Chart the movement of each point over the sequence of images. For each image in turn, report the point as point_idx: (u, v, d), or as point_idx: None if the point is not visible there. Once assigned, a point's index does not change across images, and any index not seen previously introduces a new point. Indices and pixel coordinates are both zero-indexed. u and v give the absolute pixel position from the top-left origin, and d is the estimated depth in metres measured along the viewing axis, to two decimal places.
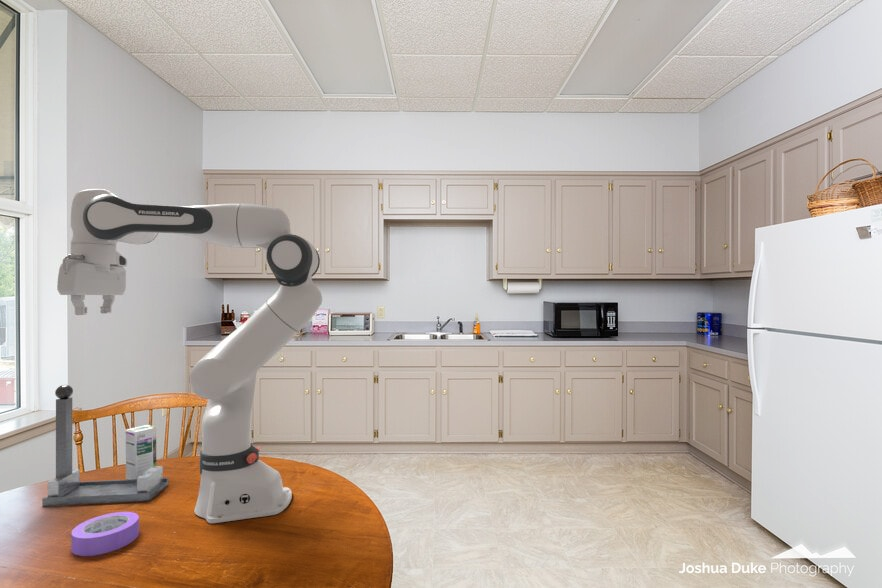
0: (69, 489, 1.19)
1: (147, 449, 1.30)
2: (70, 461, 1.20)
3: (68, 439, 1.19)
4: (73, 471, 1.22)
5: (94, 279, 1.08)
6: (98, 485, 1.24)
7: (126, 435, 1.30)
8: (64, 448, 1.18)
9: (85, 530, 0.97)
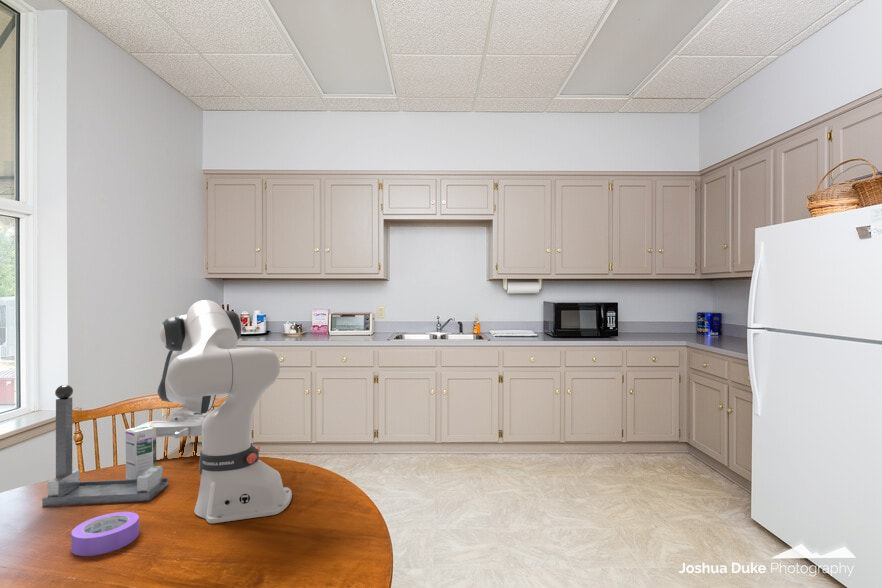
0: (69, 489, 1.19)
1: (147, 449, 1.30)
2: (70, 461, 1.20)
3: (68, 439, 1.19)
4: (73, 471, 1.22)
5: (164, 423, 1.51)
6: (98, 485, 1.24)
7: (126, 435, 1.30)
8: (64, 448, 1.18)
9: (85, 530, 0.97)
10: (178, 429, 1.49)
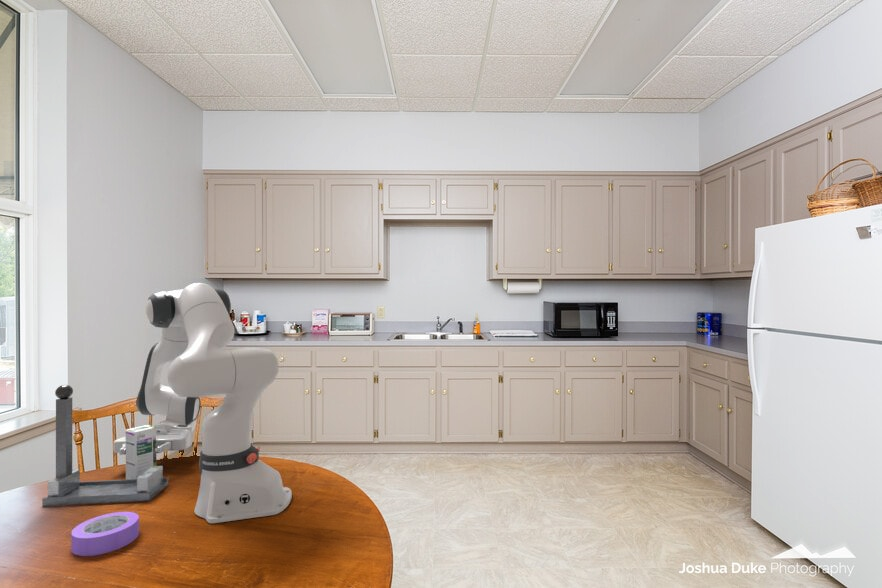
0: (69, 489, 1.19)
1: (147, 449, 1.30)
2: (70, 461, 1.20)
3: (68, 439, 1.19)
4: (73, 471, 1.22)
5: None
6: (98, 485, 1.24)
7: (126, 435, 1.30)
8: (64, 448, 1.18)
9: (85, 530, 0.97)
10: (159, 443, 1.36)
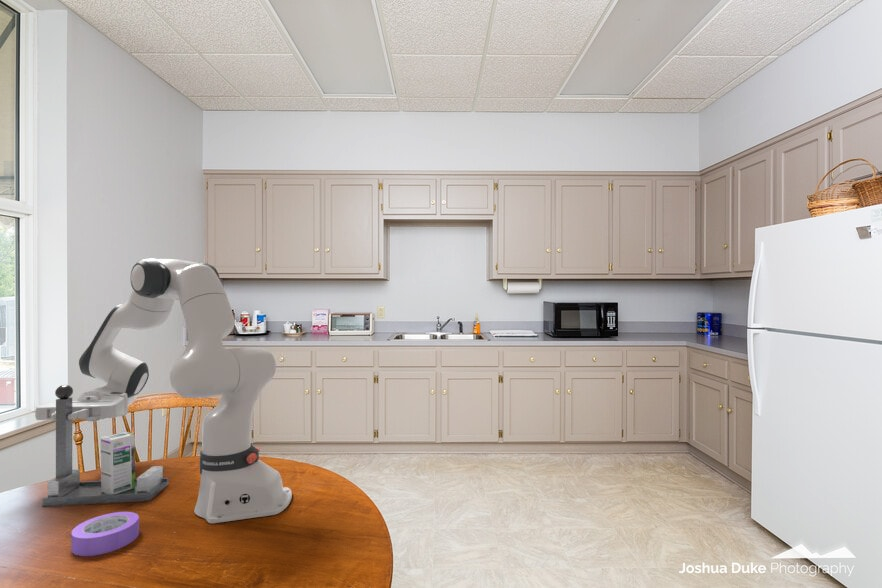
0: (69, 489, 1.19)
1: (124, 458, 1.19)
2: (70, 461, 1.20)
3: (68, 439, 1.19)
4: (73, 471, 1.22)
5: None
6: (98, 485, 1.24)
7: (101, 443, 1.19)
8: (64, 448, 1.18)
9: (85, 530, 0.97)
10: None
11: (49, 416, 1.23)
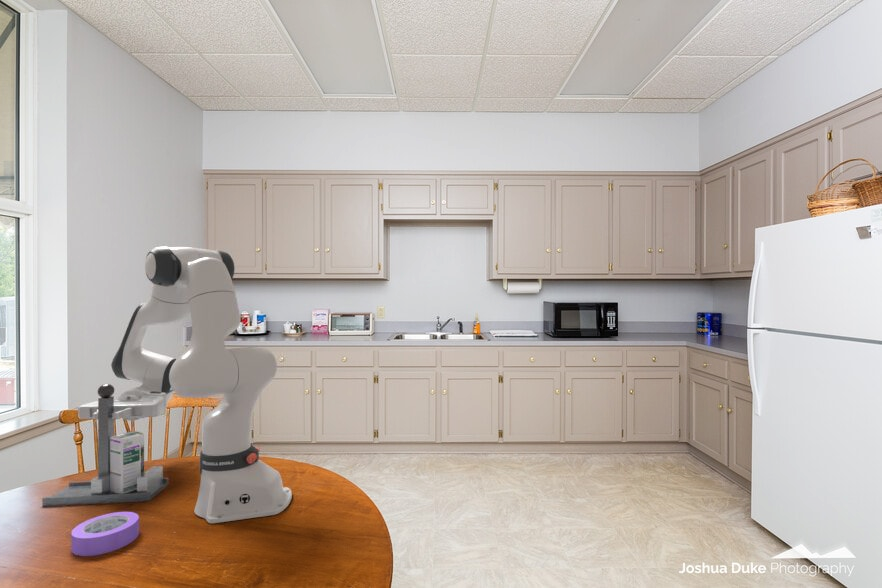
0: None
1: (134, 457, 1.20)
2: None
3: None
4: None
5: None
6: None
7: (110, 443, 1.19)
8: (106, 446, 1.19)
9: (85, 530, 0.97)
10: None
11: (92, 415, 1.24)
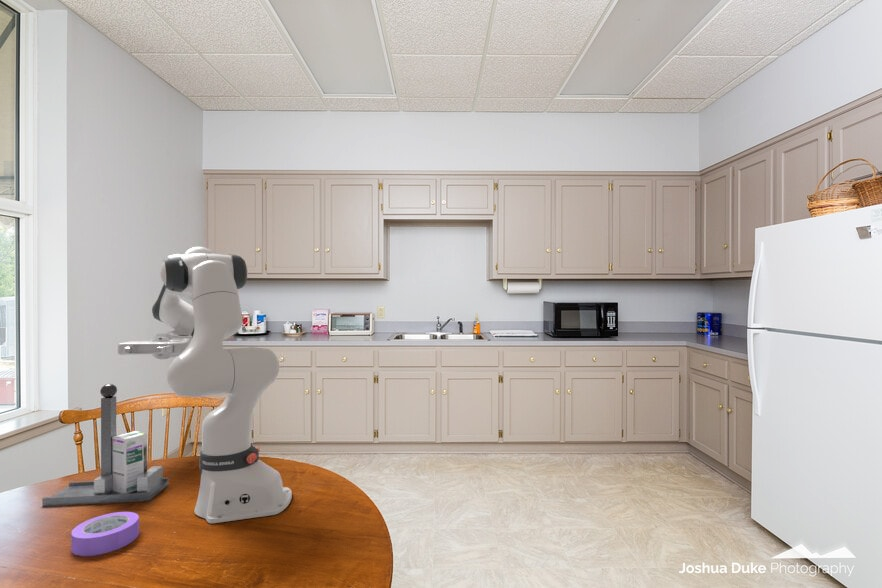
0: None
1: (137, 457, 1.20)
2: None
3: None
4: None
5: None
6: None
7: (113, 443, 1.20)
8: (109, 446, 1.19)
9: (85, 530, 0.97)
10: (162, 347, 1.43)
11: None
